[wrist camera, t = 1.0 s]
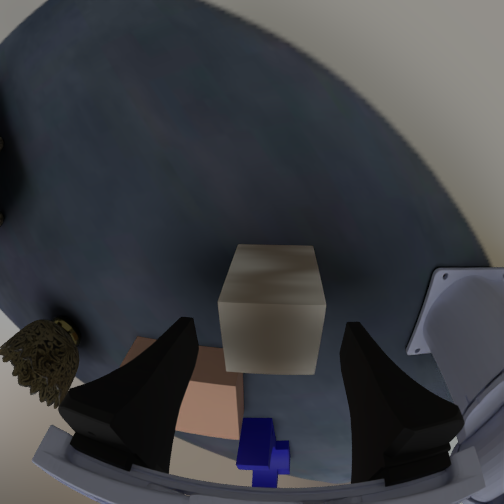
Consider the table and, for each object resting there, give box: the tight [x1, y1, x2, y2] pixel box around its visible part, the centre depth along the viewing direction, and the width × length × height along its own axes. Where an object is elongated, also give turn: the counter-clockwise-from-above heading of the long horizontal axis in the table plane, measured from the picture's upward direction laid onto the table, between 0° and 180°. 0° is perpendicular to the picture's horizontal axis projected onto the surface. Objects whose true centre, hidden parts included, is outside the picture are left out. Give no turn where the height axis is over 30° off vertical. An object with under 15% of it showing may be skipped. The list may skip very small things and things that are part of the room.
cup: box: [0, 316, 81, 409], centre depth 19 cm, size 8×7×8 cm
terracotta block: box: [120, 336, 244, 440], centre depth 21 cm, size 9×9×4 cm
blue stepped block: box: [236, 418, 290, 488], centre depth 25 cm, size 12×4×6 cm, turn 8°
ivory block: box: [218, 244, 326, 375], centre depth 15 cm, size 4×4×6 cm
